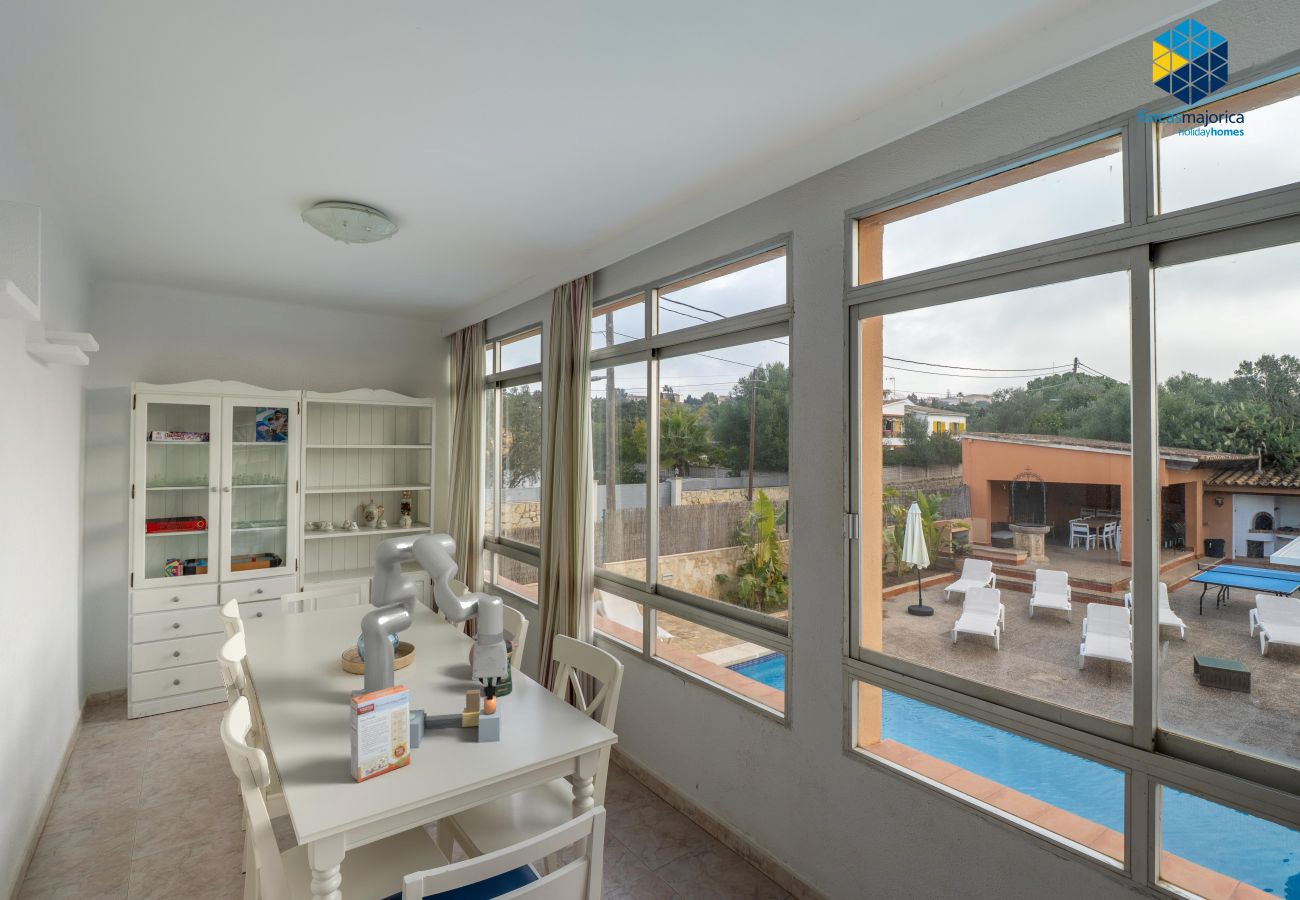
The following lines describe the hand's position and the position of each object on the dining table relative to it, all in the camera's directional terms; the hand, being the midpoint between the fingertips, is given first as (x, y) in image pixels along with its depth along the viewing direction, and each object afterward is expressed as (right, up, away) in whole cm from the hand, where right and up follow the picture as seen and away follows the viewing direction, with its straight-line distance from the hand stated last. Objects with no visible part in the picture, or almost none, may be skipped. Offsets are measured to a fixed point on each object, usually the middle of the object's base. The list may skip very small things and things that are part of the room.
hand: (490, 697), depth 188 cm
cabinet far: (0, -12, +1) cm, 12 cm away
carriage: (-7, -11, +8) cm, 16 cm away
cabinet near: (-23, -11, -3) cm, 26 cm away
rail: (-13, -11, +7) cm, 18 cm away
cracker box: (-25, -12, -20) cm, 34 cm away
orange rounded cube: (0, -4, 0) cm, 4 cm away
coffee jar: (-5, -12, +33) cm, 35 cm away
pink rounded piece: (-11, -12, +51) cm, 53 cm away
